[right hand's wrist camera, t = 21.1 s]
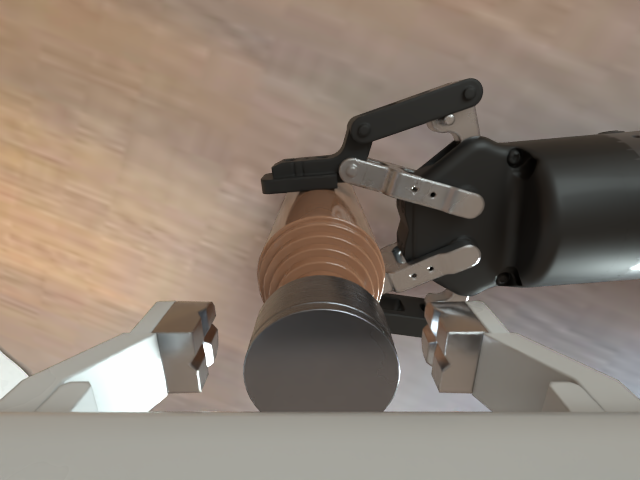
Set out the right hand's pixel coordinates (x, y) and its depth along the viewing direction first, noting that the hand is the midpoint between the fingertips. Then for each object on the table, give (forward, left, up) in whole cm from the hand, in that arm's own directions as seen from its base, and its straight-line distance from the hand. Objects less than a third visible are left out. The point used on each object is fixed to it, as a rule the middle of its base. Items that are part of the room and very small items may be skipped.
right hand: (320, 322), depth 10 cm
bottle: (0, 0, -16) cm, 16 cm away
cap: (0, 0, +2) cm, 2 cm away
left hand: (-2, -1, -9) cm, 9 cm away
